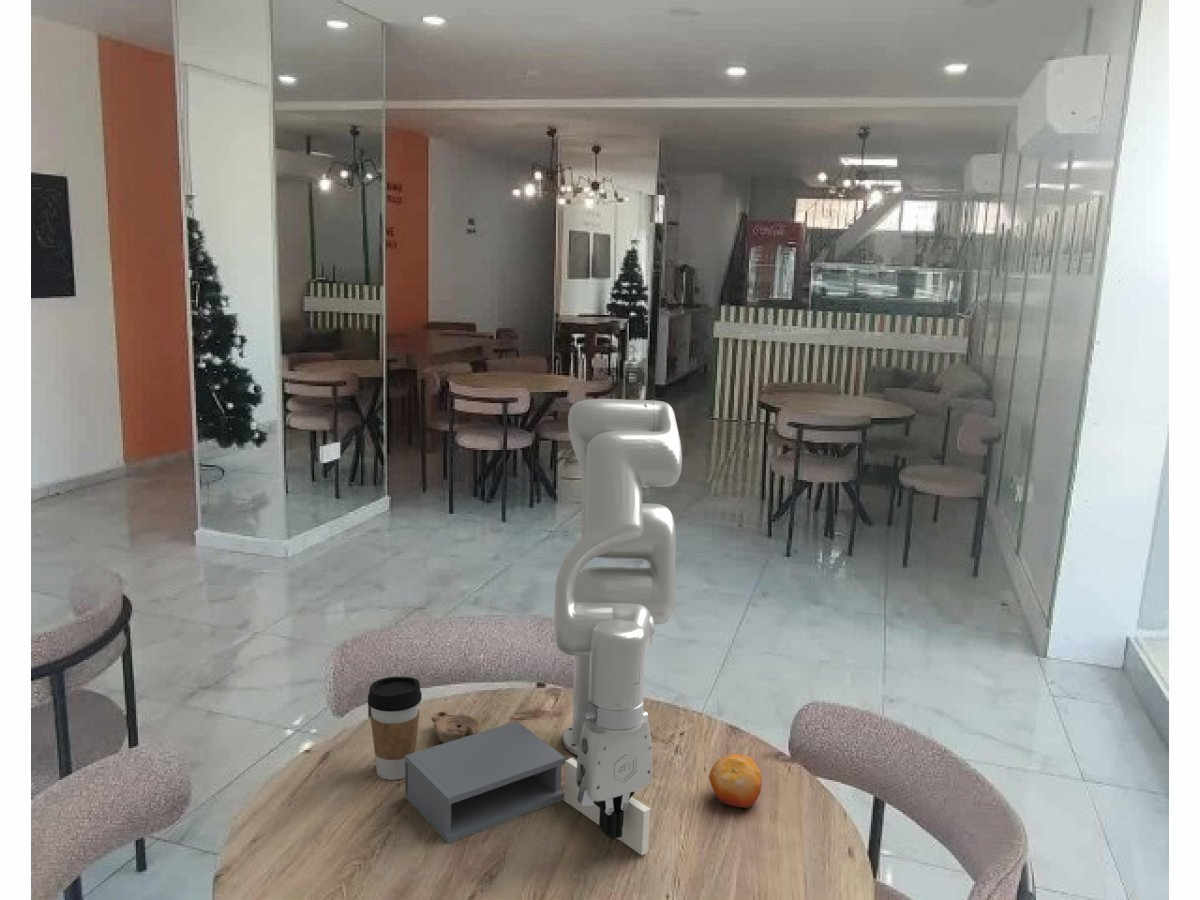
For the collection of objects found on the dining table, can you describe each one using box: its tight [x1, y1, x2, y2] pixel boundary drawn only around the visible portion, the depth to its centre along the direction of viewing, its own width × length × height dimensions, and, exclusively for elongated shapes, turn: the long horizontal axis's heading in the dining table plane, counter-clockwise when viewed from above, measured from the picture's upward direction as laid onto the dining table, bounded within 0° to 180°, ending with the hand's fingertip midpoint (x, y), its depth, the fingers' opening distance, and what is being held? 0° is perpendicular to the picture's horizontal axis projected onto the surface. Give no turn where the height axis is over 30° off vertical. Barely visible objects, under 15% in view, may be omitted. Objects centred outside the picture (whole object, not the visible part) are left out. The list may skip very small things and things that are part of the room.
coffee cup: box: [367, 676, 423, 781], centre depth 144 cm, size 8×8×15 cm
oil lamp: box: [431, 710, 481, 744], centre depth 155 cm, size 13×8×5 cm, turn 36°
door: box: [564, 756, 651, 856], centre depth 132 cm, size 18×2×7 cm, turn 41°
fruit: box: [708, 753, 763, 809], centre depth 141 cm, size 8×8×8 cm
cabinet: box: [404, 720, 566, 844], centre depth 138 cm, size 20×14×7 cm
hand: (610, 833), depth 126 cm, fingers closed
